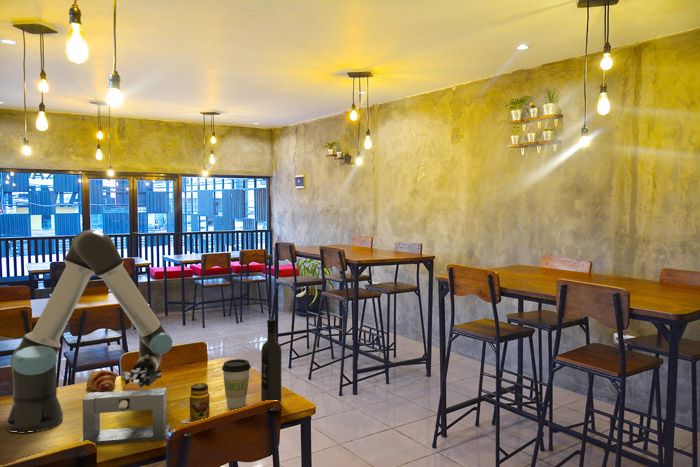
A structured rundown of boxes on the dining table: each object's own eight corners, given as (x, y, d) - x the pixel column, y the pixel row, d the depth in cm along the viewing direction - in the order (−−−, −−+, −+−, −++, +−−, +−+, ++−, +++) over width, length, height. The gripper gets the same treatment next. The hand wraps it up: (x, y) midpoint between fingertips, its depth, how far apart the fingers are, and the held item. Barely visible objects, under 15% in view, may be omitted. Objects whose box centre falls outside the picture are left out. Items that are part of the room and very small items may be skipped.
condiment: (199, 428, 158) (199, 390, 158) (179, 422, 162) (179, 385, 162) (215, 420, 164) (215, 383, 164) (196, 415, 168) (196, 379, 168)
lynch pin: (112, 416, 145) (112, 398, 145) (123, 399, 159) (123, 382, 159) (131, 415, 146) (131, 397, 146) (141, 397, 160) (141, 381, 160)
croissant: (88, 389, 202) (77, 373, 200) (111, 373, 208) (101, 357, 205) (100, 403, 186) (88, 386, 183) (126, 386, 191) (115, 369, 189)
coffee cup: (215, 407, 175) (215, 364, 175) (234, 398, 184) (234, 357, 184) (238, 412, 171) (238, 368, 170) (256, 403, 180) (256, 361, 179)
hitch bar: (78, 446, 145) (77, 401, 144) (86, 435, 152) (85, 391, 152) (166, 439, 150) (166, 395, 149) (170, 428, 158) (170, 386, 157)
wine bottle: (268, 408, 174) (268, 322, 173) (260, 404, 178) (260, 319, 177) (282, 405, 178) (282, 320, 177) (273, 400, 182) (274, 317, 181)
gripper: (126, 358, 181) (110, 379, 158) (164, 357, 184) (154, 377, 161) (126, 379, 182) (110, 403, 159) (164, 377, 185) (154, 400, 162)
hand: (133, 390), depth 160 cm, fingers closed
